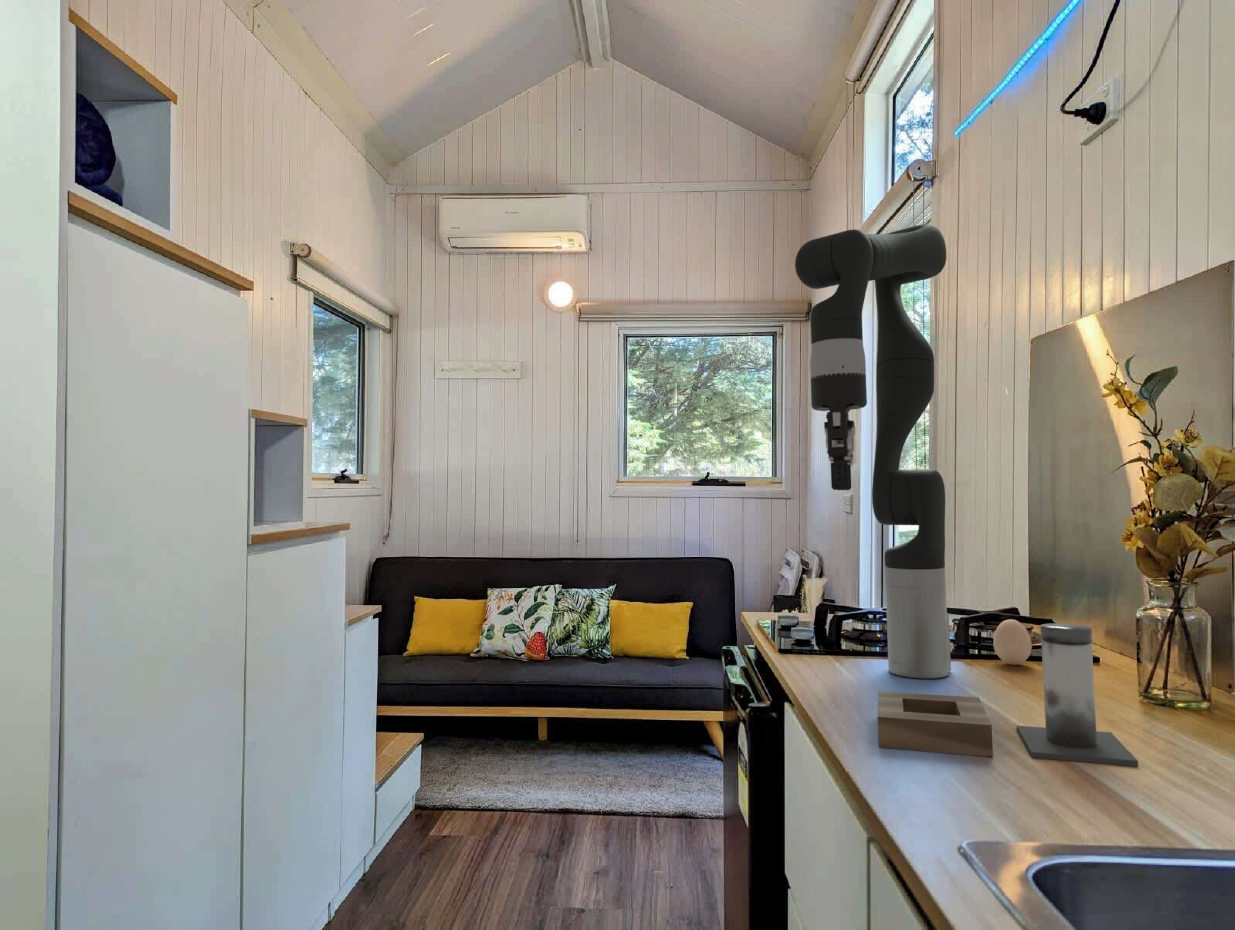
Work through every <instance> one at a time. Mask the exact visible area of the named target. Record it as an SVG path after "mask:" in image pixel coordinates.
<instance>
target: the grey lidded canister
mask: <svg viewBox="0 0 1235 930" xmlns="http://www.w3.org/2000/svg"><path fill="white" fill-rule="evenodd" d="M1039 627H1040V629H1039V630H1040V640H1041V641H1040V642H1041V659H1042V680H1043V700H1044V701H1043V702H1044V720H1045V721H1044V722H1045V728H1046V739H1047V741H1049V742H1051V743H1053V744H1056V745H1059V746H1064V747H1069V748H1080V749H1086V748H1093V747H1096V746H1097V735H1096V731H1097V719H1096V718H1097V716H1096V699H1095V678H1094V677H1095V675H1094V660H1093V657H1094V655H1093V632H1092V631H1093V629H1092V627H1091V626H1087V625H1081V624H1074V623H1061V622H1059V623H1056V622H1055V623H1054V622H1052V623H1051V622H1050V623H1043V624H1040V625H1039Z"/></svg>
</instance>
